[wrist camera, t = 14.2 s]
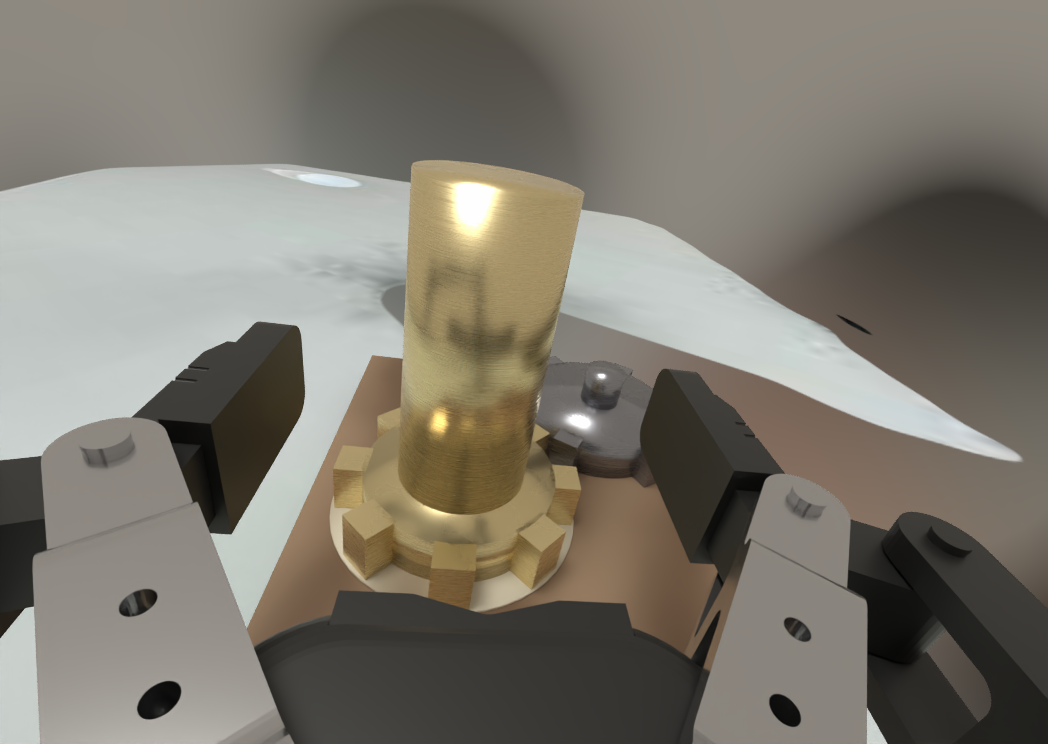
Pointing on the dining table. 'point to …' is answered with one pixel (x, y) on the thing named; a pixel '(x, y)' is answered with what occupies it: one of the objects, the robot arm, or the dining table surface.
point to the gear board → (580, 575)
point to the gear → (595, 419)
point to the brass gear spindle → (469, 389)
